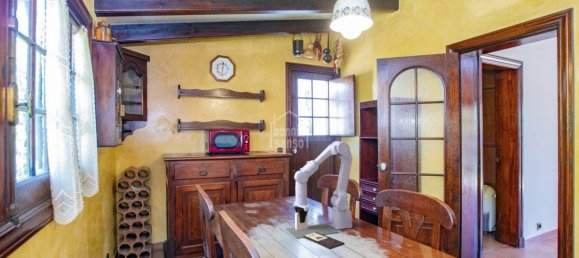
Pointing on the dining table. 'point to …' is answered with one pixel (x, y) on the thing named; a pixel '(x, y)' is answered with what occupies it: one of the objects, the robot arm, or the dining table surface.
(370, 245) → the dining table surface
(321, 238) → the chocolate bar
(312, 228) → the mat
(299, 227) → the tile
